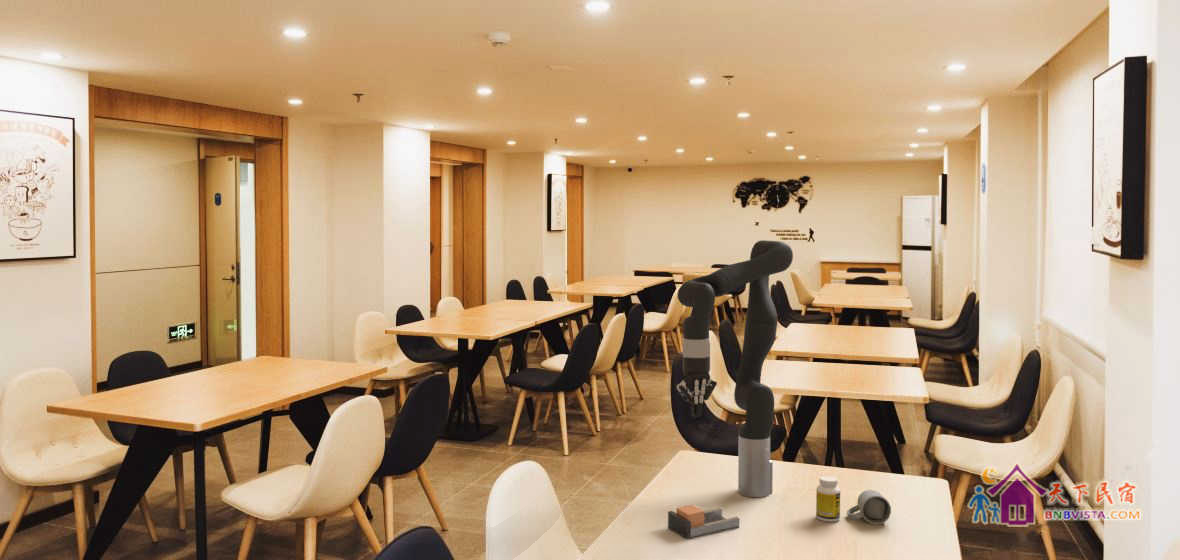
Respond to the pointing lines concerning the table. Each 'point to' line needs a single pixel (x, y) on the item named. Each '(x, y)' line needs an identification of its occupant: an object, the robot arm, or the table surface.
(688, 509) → the block
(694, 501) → the table surface
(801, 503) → the table surface
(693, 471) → the table surface
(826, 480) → the pill bottle
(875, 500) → the ceramic mug
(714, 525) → the chute
